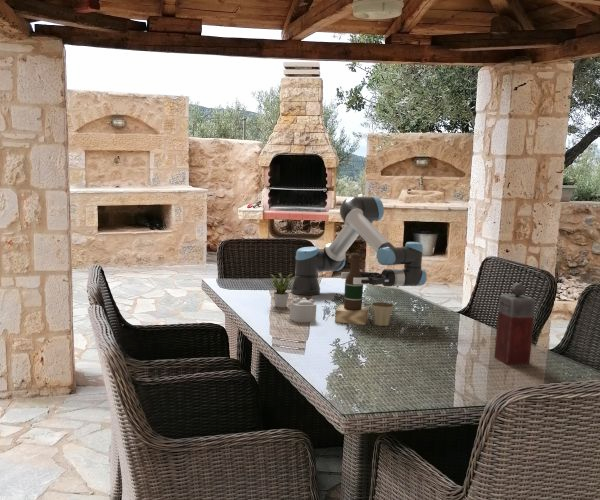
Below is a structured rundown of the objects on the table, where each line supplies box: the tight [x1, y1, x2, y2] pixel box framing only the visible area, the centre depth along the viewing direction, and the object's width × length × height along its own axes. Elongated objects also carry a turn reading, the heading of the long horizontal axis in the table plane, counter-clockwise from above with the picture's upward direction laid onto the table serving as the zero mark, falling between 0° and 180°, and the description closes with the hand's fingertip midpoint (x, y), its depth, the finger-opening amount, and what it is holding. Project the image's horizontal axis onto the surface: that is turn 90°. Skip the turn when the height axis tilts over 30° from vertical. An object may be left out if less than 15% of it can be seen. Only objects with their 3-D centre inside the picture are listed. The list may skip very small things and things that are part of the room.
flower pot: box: [371, 301, 395, 327], centre depth 282 cm, size 9×9×9 cm
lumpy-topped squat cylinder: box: [289, 297, 317, 323], centre depth 286 cm, size 10×13×9 cm
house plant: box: [269, 272, 298, 308], centre depth 309 cm, size 14×14×16 cm
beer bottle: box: [343, 252, 364, 310], centre depth 286 cm, size 8×8×24 cm
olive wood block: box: [334, 303, 370, 326], centre depth 288 cm, size 13×13×5 cm
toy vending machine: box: [493, 282, 536, 366], centre depth 236 cm, size 9×11×28 cm
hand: (347, 278), depth 285 cm, fingers open, 13 cm apart
